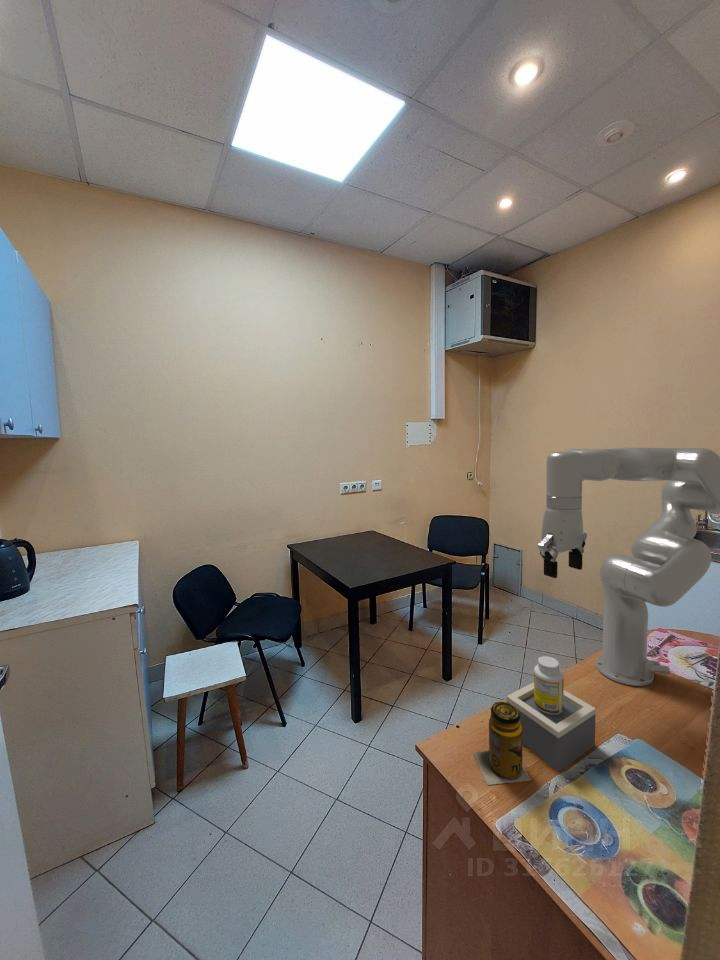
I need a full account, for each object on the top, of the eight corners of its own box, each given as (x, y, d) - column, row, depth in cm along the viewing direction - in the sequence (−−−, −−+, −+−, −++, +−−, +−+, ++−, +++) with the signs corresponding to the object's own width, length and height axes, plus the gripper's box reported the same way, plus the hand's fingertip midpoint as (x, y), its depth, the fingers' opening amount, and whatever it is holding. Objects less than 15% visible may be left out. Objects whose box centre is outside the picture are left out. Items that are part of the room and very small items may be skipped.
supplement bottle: (548, 695, 83) (548, 651, 82) (569, 711, 78) (570, 665, 77) (528, 702, 81) (527, 657, 80) (548, 719, 76) (548, 672, 75)
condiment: (531, 780, 71) (531, 721, 69) (487, 785, 70) (486, 726, 69) (512, 749, 78) (512, 695, 77) (472, 753, 77) (471, 699, 76)
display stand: (542, 710, 88) (542, 677, 88) (594, 745, 78) (595, 708, 77) (506, 731, 83) (506, 696, 82) (558, 772, 72) (558, 732, 71)
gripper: (570, 497, 98) (570, 561, 100) (526, 505, 90) (526, 575, 92) (600, 500, 92) (599, 569, 93) (555, 510, 83) (555, 584, 85)
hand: (563, 572), depth 93 cm, fingers open, 9 cm apart
